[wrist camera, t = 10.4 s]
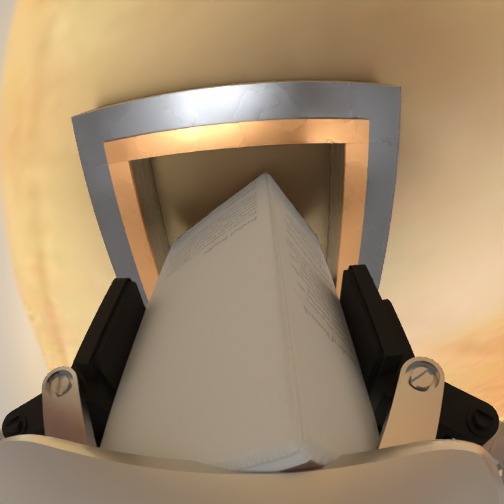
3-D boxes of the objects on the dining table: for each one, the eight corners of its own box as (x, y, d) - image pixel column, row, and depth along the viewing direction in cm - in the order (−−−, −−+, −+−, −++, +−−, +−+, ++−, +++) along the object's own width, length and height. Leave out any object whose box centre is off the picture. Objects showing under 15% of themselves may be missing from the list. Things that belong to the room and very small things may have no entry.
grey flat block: (96, 108, 13) (69, 118, 11) (379, 83, 12) (402, 87, 10) (198, 421, 29) (196, 442, 27) (332, 415, 29) (335, 437, 26)
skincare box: (227, 291, 17) (208, 521, 7) (168, 236, 15) (83, 483, 5) (321, 230, 15) (398, 488, 5) (266, 159, 13) (298, 463, 3)
